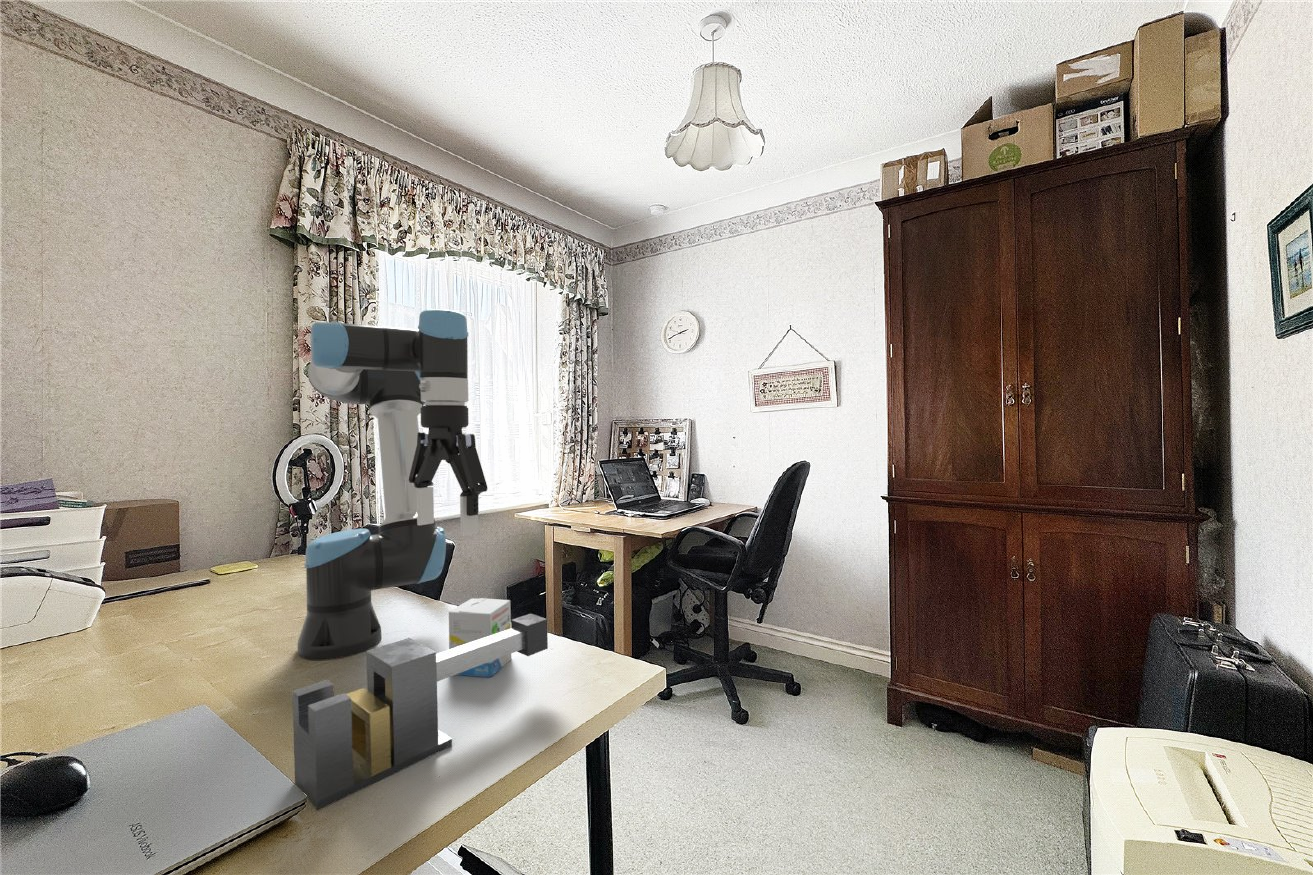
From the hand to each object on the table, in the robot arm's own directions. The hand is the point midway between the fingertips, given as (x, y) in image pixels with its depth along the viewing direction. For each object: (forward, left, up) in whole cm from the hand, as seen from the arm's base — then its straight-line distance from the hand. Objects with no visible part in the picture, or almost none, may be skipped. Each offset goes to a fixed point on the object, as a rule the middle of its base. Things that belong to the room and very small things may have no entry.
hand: (446, 529), depth 94 cm
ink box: (-4, +9, -28) cm, 30 cm away
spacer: (+12, -18, -27) cm, 34 cm away
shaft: (+12, -2, -20) cm, 23 cm away
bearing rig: (+12, -17, -28) cm, 34 cm away
